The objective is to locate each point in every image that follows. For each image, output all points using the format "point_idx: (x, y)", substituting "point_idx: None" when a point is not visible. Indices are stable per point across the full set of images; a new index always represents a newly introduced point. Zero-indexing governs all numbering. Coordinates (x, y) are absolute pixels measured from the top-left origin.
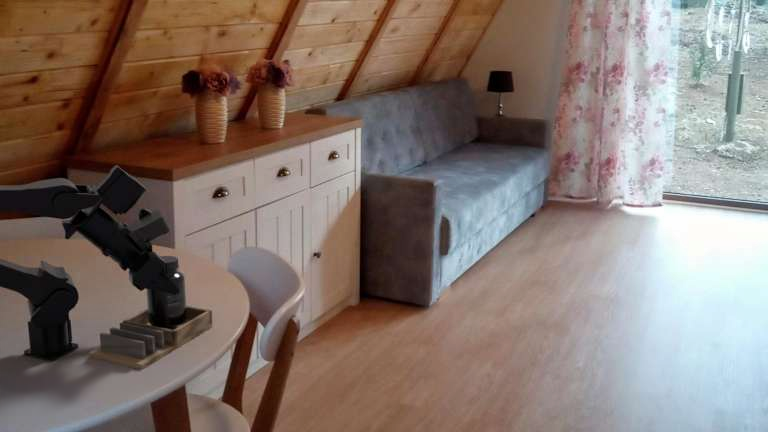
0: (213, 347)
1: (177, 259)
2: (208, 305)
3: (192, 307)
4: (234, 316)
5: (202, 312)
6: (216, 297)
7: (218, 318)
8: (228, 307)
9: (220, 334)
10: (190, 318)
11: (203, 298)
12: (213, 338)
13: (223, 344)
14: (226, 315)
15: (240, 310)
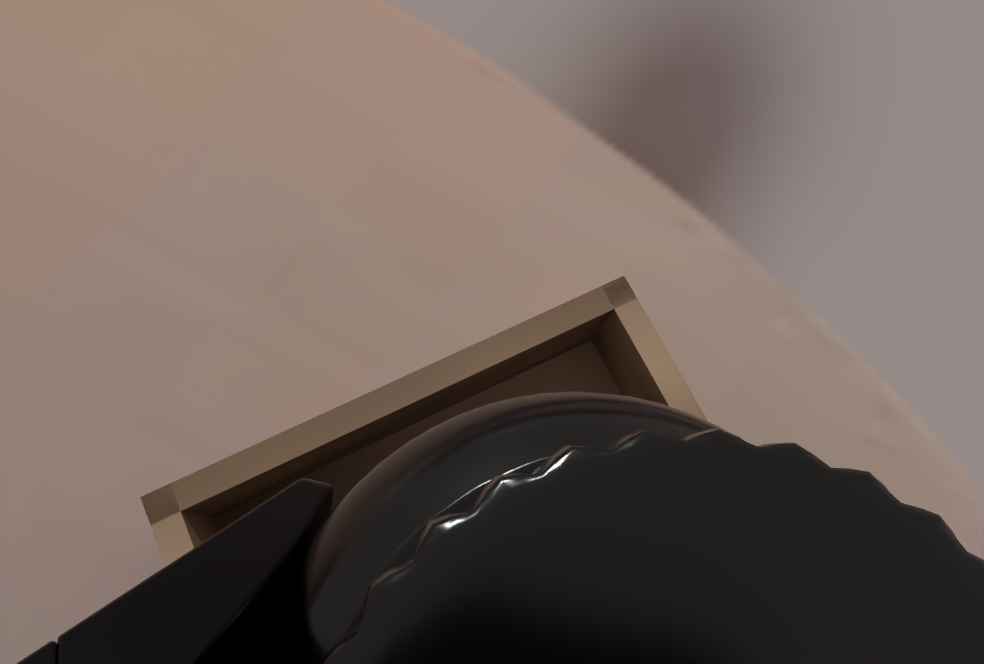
0: (908, 483)
1: (936, 516)
2: (228, 149)
3: (471, 361)
4: (514, 127)
5: (568, 333)
6: (136, 41)
7: (481, 216)
8: (352, 77)
9: (734, 341)
10: (457, 399)
11: (85, 109)
12: (771, 409)
13: (893, 408)
14: (467, 154)
15: (448, 52)
